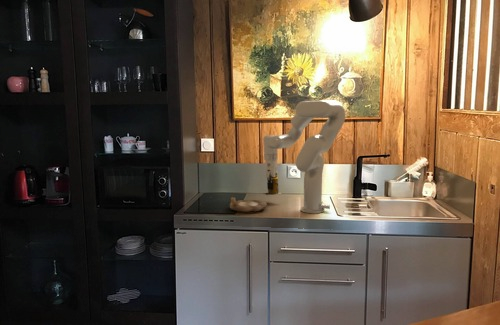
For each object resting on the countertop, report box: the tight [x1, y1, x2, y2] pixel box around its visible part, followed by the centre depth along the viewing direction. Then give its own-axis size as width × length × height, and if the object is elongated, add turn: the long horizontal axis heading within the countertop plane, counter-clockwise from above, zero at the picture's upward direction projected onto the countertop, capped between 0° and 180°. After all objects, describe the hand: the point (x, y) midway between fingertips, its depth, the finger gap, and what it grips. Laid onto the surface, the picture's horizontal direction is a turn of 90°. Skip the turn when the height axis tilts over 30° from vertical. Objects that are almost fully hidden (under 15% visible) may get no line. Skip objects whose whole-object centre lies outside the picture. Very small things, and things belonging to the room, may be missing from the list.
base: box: [239, 211, 257, 213], centre depth 228 cm, size 12×12×1 cm
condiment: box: [262, 173, 282, 196], centre depth 239 cm, size 7×8×12 cm
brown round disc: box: [229, 197, 267, 212], centre depth 227 cm, size 20×20×6 cm
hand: (271, 188), depth 240 cm, fingers closed on condiment, 6 cm apart
